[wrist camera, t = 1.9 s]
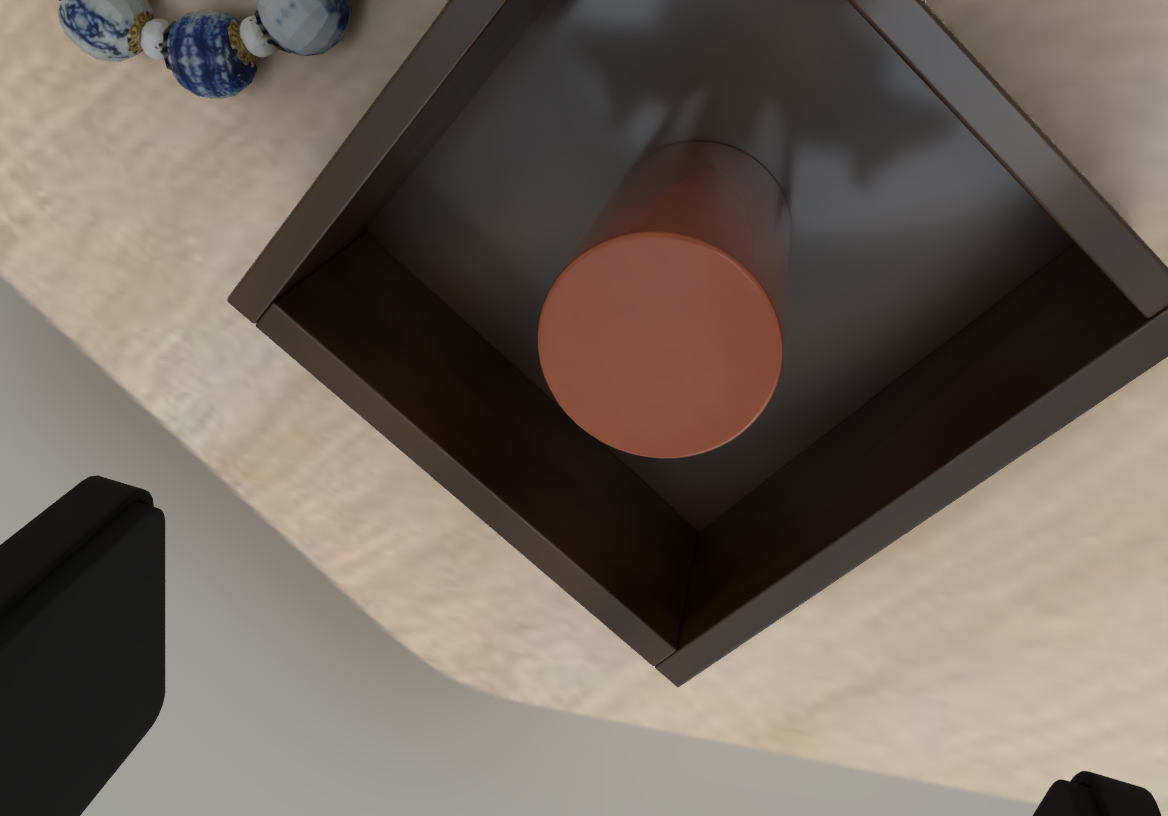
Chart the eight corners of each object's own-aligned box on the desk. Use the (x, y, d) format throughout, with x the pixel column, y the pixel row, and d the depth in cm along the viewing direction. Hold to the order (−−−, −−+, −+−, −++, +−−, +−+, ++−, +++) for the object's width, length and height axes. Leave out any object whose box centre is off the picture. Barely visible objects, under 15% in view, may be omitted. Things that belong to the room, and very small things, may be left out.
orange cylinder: (570, 232, 24) (488, 346, 18) (696, 99, 22) (652, 177, 16) (698, 353, 25) (660, 501, 19) (832, 234, 23) (837, 358, 17)
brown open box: (332, 225, 26) (224, 300, 21) (697, -243, 20) (660, -284, 15) (701, 554, 29) (678, 688, 24) (1132, 229, 22) (1219, 323, 17)
